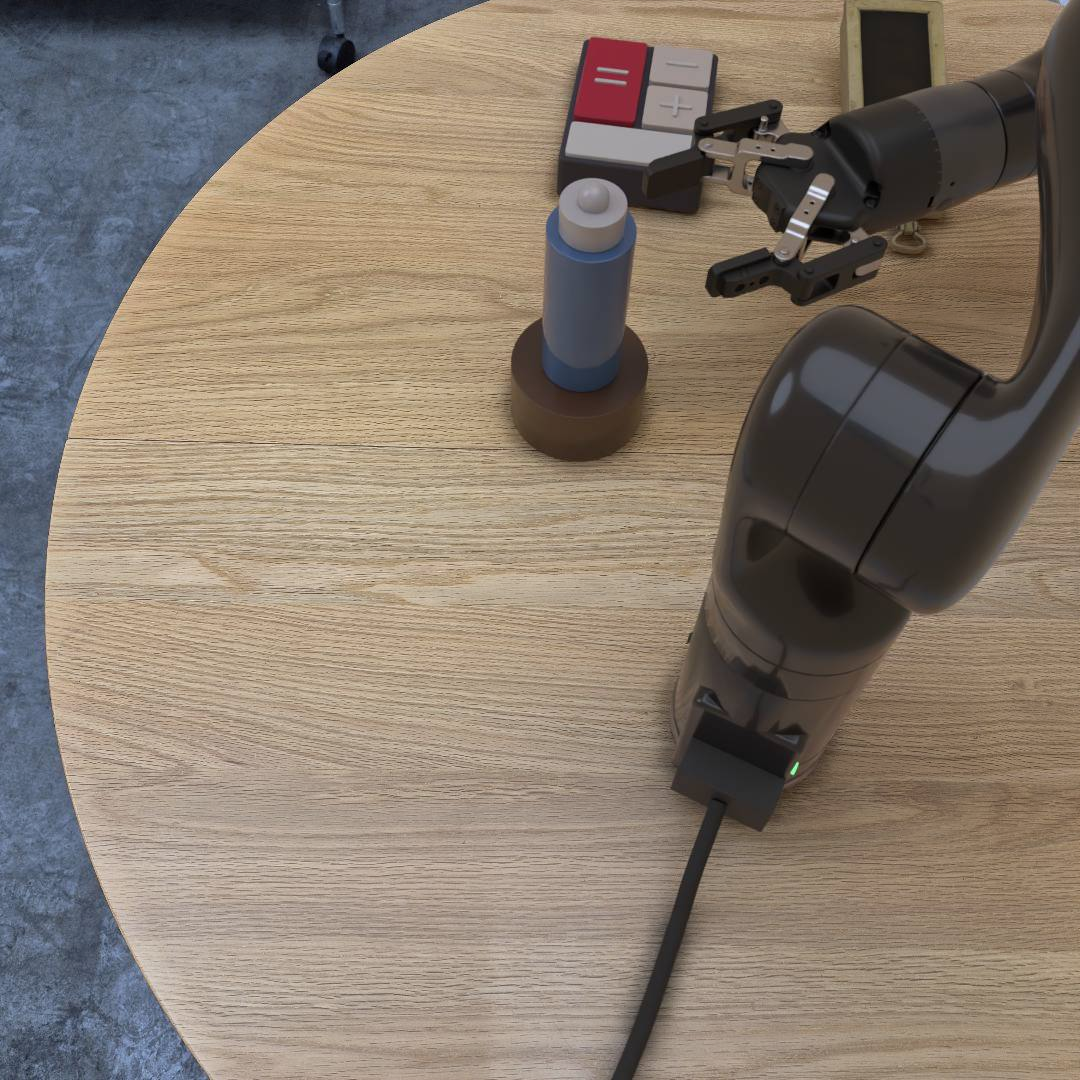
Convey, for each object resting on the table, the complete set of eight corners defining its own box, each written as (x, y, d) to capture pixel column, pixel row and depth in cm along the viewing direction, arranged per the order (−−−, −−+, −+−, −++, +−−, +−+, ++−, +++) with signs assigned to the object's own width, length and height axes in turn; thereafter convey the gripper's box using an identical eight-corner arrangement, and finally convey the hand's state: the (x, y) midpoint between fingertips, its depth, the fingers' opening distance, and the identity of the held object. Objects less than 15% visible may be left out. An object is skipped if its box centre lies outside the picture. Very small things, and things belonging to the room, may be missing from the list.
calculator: (720, 45, 96) (705, 169, 88) (712, 91, 100) (697, 214, 92) (584, 29, 97) (557, 151, 89) (581, 75, 100) (555, 196, 92)
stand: (608, 481, 80) (613, 438, 75) (488, 430, 82) (486, 385, 77) (662, 384, 84) (670, 338, 80) (546, 338, 86) (548, 290, 81)
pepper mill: (599, 404, 77) (618, 233, 64) (527, 374, 78) (530, 200, 65) (633, 347, 79) (657, 171, 66) (562, 318, 80) (572, 140, 67)
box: (924, 41, 100) (942, -5, 96) (946, 273, 93) (967, 236, 88) (824, 38, 100) (838, -8, 96) (838, 271, 93) (854, 233, 88)
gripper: (864, 36, 75) (629, 105, 71) (994, 190, 68) (743, 273, 65) (835, 131, 81) (619, 198, 78) (952, 279, 75) (722, 359, 72)
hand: (676, 232), depth 71 cm, fingers open, 8 cm apart
